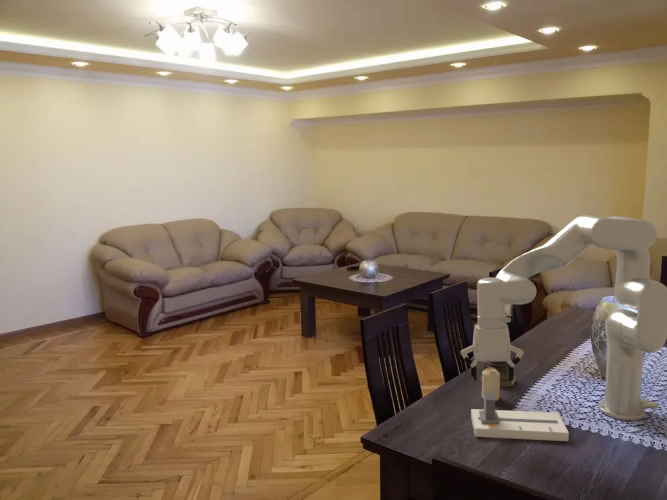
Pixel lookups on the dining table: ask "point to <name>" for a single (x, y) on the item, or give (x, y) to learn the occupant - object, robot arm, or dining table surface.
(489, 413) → the fader tab
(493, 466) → the dining table surface
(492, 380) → the candle
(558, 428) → the fader console
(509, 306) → the bird statue
